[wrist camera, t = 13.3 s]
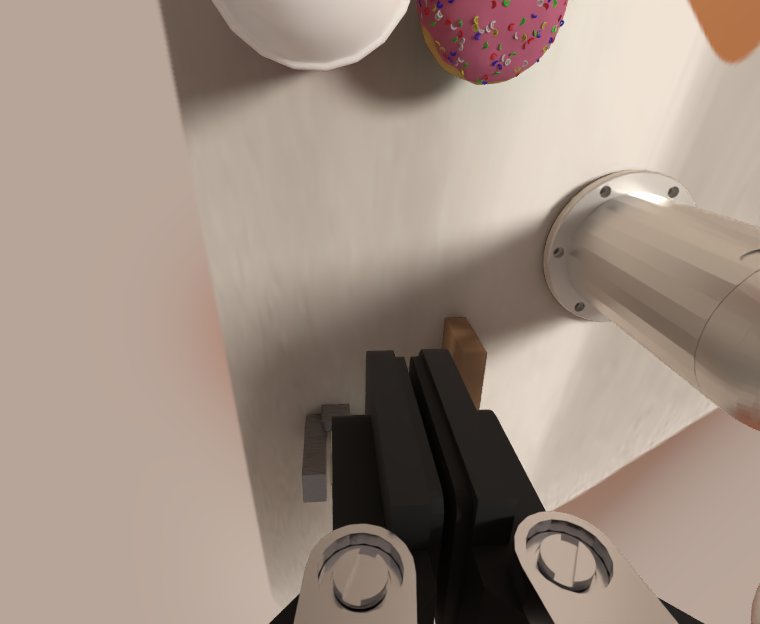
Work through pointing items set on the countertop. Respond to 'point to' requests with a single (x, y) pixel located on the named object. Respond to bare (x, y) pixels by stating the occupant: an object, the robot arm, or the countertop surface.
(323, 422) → the latch post
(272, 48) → the smoothie
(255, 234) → the countertop surface
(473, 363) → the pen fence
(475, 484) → the robot arm
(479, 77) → the cupcake
